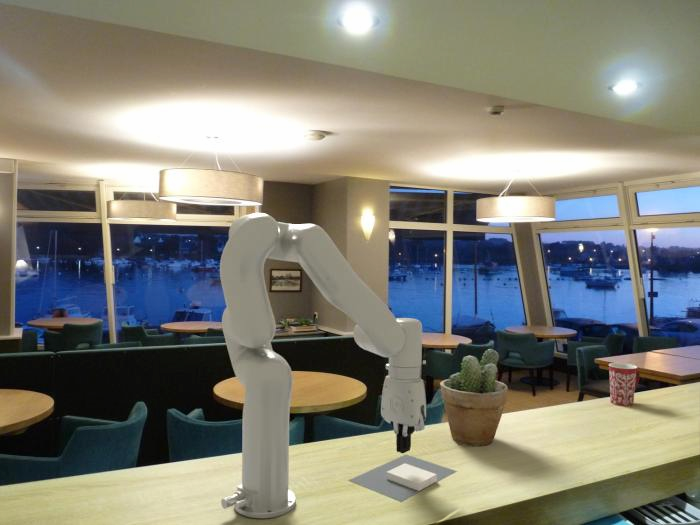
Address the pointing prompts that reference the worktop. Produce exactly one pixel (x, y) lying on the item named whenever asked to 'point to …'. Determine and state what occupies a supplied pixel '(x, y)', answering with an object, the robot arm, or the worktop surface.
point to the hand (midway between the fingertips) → (403, 450)
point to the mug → (623, 383)
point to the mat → (391, 489)
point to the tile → (411, 476)
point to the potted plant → (474, 400)
